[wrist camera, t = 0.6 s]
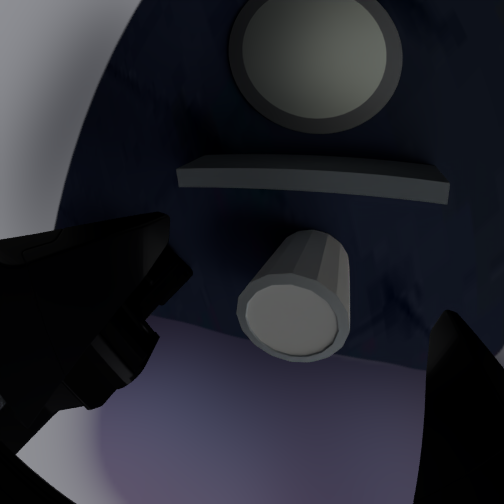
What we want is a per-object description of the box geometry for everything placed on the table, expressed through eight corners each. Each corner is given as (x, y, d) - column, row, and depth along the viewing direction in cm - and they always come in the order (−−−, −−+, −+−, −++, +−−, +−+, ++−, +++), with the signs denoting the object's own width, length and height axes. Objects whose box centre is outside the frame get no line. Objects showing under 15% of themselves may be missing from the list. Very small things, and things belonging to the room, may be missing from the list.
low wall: (435, 165, 17) (449, 183, 14) (433, 183, 18) (447, 204, 14) (205, 154, 22) (176, 169, 19) (207, 170, 23) (178, 187, 20)
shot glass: (340, 209, 21) (328, 261, 15) (367, 290, 23) (362, 356, 17) (254, 235, 24) (216, 287, 19) (288, 306, 26) (263, 367, 21)
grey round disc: (318, 166, 20) (317, 168, 20) (200, 61, 19) (197, 61, 18) (436, 59, 14) (438, 58, 13) (302, -50, 13) (301, -52, 12)
